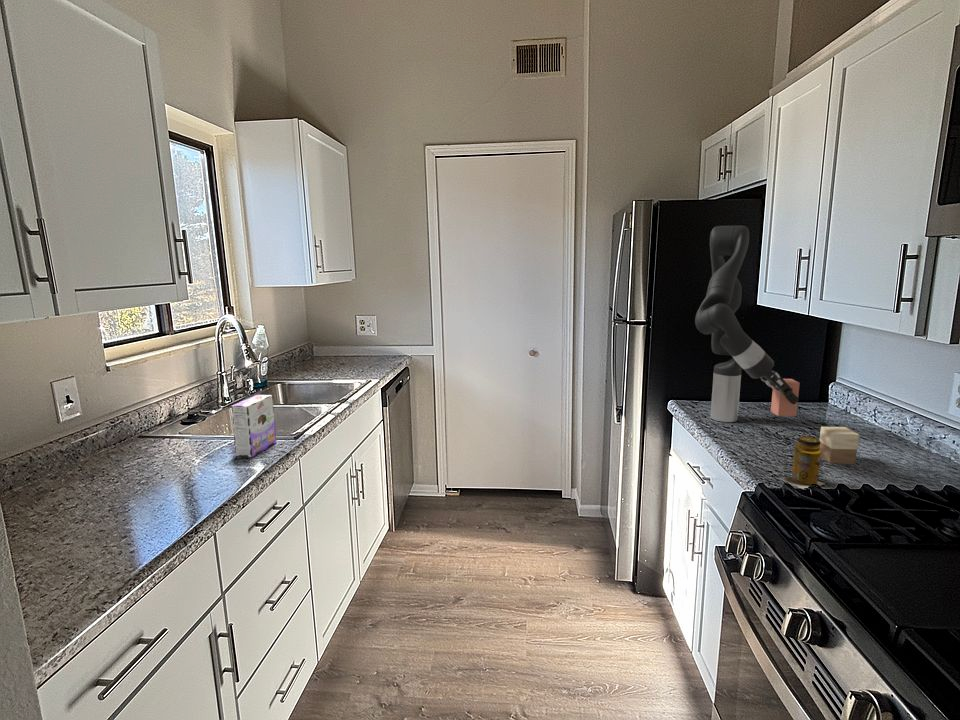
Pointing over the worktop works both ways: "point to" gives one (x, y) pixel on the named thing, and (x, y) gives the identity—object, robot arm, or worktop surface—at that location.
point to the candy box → (253, 425)
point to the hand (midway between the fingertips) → (791, 399)
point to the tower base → (838, 455)
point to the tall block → (785, 400)
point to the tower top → (839, 438)
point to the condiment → (805, 463)
